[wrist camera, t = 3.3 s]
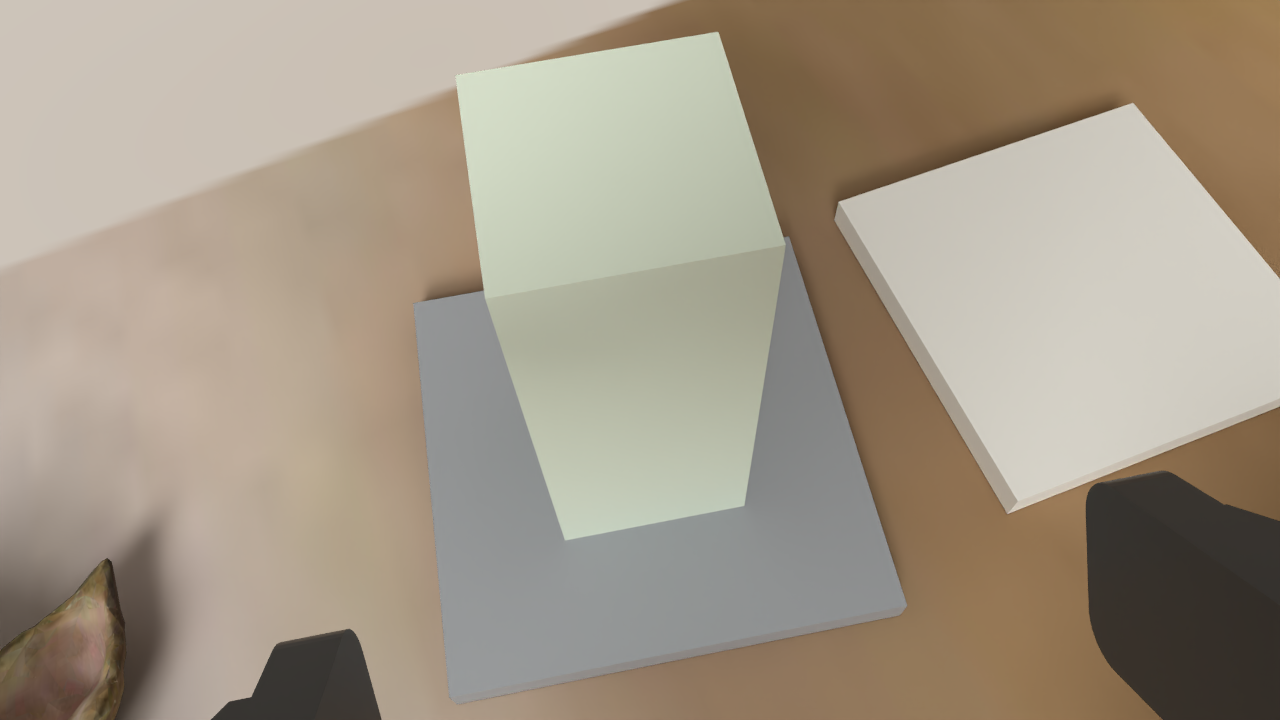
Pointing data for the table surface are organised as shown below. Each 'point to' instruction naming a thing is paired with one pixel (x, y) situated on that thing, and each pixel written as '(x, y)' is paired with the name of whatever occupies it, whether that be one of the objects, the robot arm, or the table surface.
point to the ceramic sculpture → (69, 658)
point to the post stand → (645, 555)
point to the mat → (1073, 302)
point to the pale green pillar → (627, 273)
